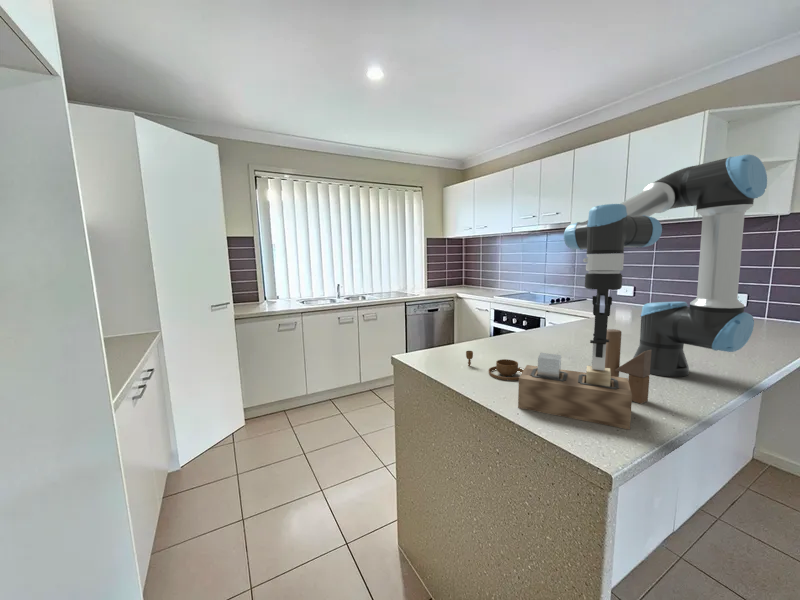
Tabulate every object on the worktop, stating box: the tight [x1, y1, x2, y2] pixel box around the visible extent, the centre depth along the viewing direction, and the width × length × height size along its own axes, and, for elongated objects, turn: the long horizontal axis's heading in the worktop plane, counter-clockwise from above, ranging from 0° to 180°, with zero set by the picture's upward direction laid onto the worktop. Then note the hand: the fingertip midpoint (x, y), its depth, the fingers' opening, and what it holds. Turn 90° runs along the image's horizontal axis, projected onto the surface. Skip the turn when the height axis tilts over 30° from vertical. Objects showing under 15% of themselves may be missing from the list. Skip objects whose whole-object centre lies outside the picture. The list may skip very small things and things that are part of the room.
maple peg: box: [585, 365, 611, 387], centre depth 82 cm, size 5×5×7 cm
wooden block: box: [605, 328, 652, 405], centre depth 91 cm, size 4×11×18 cm, turn 29°
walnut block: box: [517, 364, 633, 430], centre depth 85 cm, size 24×12×8 cm, turn 60°
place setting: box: [465, 350, 523, 381], centre depth 115 cm, size 18×20×6 cm
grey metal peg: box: [537, 352, 562, 379], centre depth 87 cm, size 5×5×7 cm
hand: (598, 368), depth 81 cm, fingers closed
